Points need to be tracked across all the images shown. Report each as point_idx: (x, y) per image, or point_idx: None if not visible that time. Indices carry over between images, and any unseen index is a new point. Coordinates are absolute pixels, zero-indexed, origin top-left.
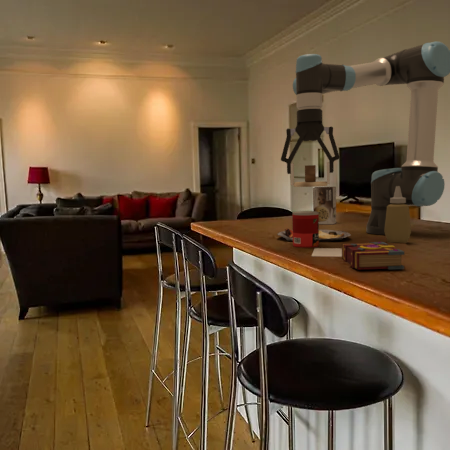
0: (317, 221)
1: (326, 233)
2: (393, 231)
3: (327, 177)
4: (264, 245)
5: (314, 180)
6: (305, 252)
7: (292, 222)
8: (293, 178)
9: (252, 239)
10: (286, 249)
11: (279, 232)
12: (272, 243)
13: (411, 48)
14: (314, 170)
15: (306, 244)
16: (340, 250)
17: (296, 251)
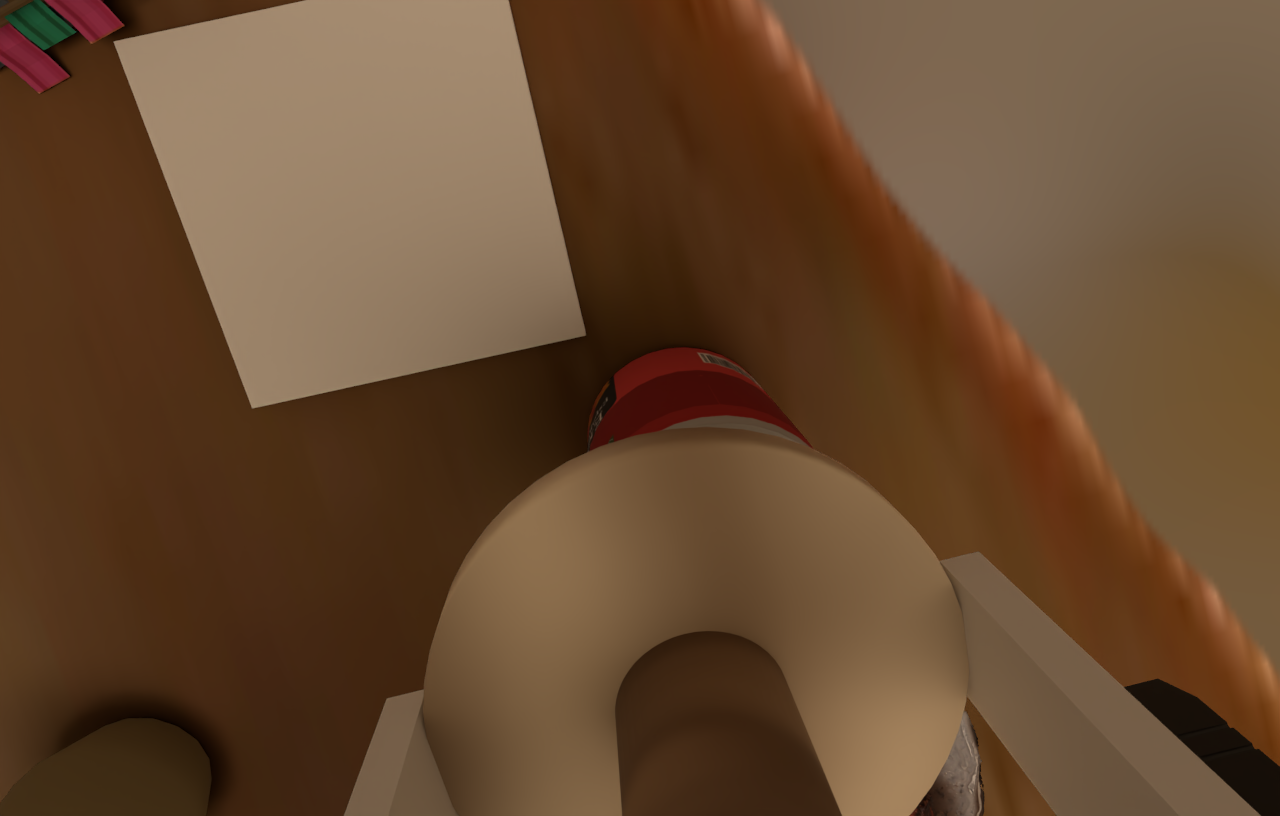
0: None
1: None
2: (98, 762)
3: (394, 771)
4: (980, 436)
5: (624, 694)
6: (619, 218)
7: None
8: (996, 637)
9: (1122, 658)
10: (786, 310)
11: (978, 804)
12: (947, 534)
13: None
14: None
15: (652, 355)
16: (376, 281)
17: (693, 243)
